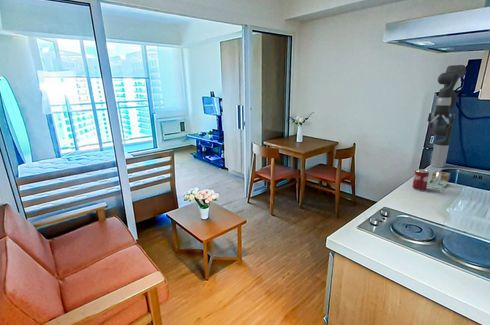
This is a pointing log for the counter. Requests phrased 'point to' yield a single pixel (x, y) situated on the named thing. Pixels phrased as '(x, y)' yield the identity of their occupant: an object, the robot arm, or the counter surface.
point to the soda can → (420, 179)
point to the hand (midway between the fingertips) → (438, 128)
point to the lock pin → (438, 177)
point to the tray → (437, 184)
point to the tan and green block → (442, 176)
